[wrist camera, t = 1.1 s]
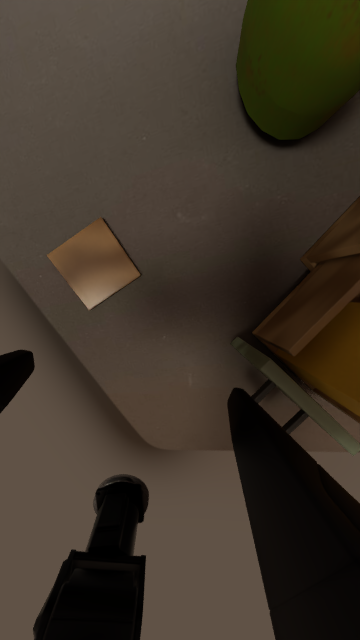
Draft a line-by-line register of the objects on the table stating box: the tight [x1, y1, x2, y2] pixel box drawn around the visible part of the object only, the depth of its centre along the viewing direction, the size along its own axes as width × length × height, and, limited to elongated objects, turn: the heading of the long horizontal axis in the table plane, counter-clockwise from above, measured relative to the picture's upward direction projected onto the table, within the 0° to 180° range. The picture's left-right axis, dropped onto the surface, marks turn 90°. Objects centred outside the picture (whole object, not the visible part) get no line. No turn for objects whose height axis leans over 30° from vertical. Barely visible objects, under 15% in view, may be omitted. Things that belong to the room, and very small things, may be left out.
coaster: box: [47, 217, 141, 310], centre depth 19 cm, size 7×7×1 cm
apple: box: [236, 0, 360, 140], centre depth 12 cm, size 11×11×11 cm
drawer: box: [231, 253, 360, 456], centre depth 18 cm, size 20×13×7 cm, turn 137°
